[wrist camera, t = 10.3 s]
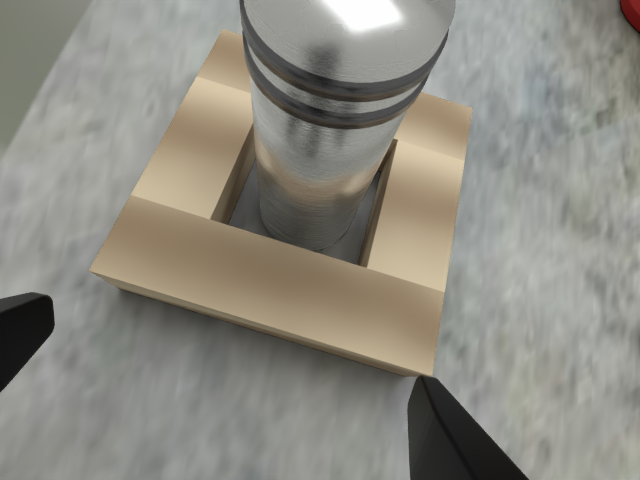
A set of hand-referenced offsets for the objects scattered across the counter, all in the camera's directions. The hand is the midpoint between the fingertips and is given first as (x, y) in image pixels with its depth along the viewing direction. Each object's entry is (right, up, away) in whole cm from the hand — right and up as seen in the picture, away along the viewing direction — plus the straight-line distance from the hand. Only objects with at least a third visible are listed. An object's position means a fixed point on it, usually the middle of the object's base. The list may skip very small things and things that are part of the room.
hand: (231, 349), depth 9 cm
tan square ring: (+1, +5, +11) cm, 12 cm away
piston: (+1, +4, +11) cm, 12 cm away
